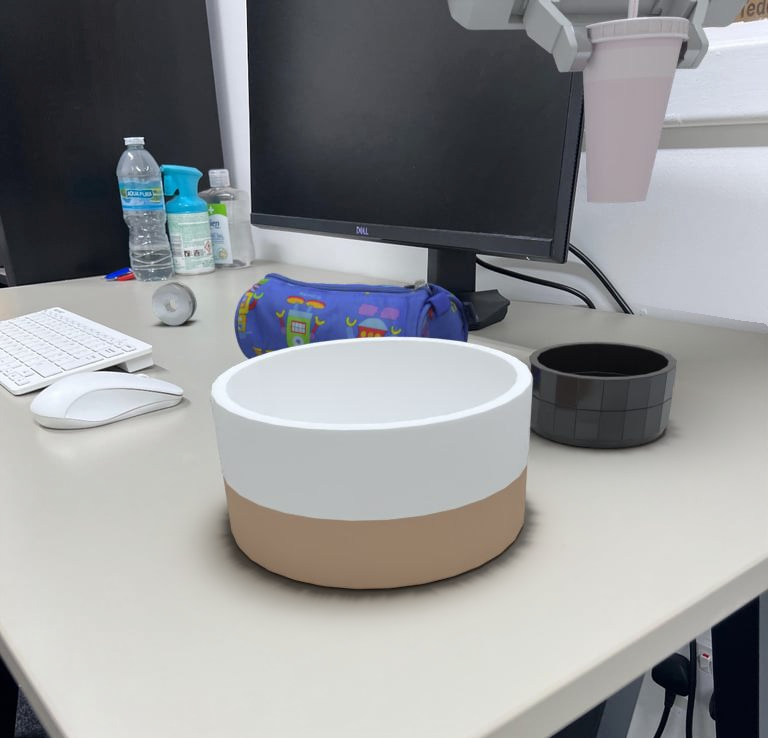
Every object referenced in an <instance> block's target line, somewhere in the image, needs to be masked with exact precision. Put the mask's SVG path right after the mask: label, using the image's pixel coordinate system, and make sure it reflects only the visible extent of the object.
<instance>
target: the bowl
mask: <svg viewBox="0 0 768 738" xmlns="http://www.w3.org/2000/svg"><path fill="white" fill-rule="evenodd" d="M532 384H533V377H532V374H531V372H530V370H529V369H528V365H527V364H525V362H522V361H521V360H520V359H519V358H517V357H515V356H513V355H511V354H508V353H507V352H504V351H503V350H498V349H495V348H491V347H488V346H485V345H481V344H476V343H470V342H467V343H466V342H461V341H453V340H444V339H434V338H418V337H371V338H354V339H342V340H333V341H325V342H317V343H311V344H305V345H300V346H294V347H289V348H285V349H281V350H277V351H273V352H269V353H266V354H263V355H260V356H257V357H254V358H251V359H246V360H245V361H241V362H239V363H238V364H235V365H233V366H231V367H229V368H228V369H227V370H225V371H224V372H223V373H221V374H220V375H219V376H217V378H216V379H215V380H214V381H213V383H212V384H211V388H210V395H209V396H210V397H209V398H210V404H211V405H210V406H211V411H212V418H213V425H214V431H215V437H216V443H217V444H216V445H217V450H218V457H219V462H220V463H219V464H220V469H221V470H220V471H221V474H222V477H223V484H224V490H225V491H224V492H225V497H226V505H227V510H228V517H229V522H230V523H229V524H230V530H231V533H232V536H233V538H234V540H235V542H236V545H237V546H238V548H239V549H240V550H241V551H242V552H243V553H244V554H245V555H246V556H247V557H248V558H249V559H250V560H251V561H252V562H254V563H256V564H258V565H259V566H261V567H263V568H265V569H266V570H267V571H269V572H272V573H275V574H277V575H280V576H283V577H285V578H288V579H291V580H294V581H298V582H301V583H303V582H304V583H307V584H312V585H317V586H323V587H331V588H342V589H352V590H353V589H355V590H363V589H364V590H365V589H366V590H367V589H392V588H393V589H394V588H400V587H401V588H402V587H409V586H416V585H424V584H428V583H432V582H435V581H439V580H444V579H447V578H452V577H455V576H458V575H461V574H463V573H465V572H468V571H471V570H474V569H476V568H478V567H481V566H483V565H484V564H485V563H487V562H489V561H490V560H492V559H494V558H496V557H498V556H500V555H501V554H502V553H503V552H504V551H505V550H506V549H507V548H508V547H509V546H510V545H511V544H512V543H513V542H515V541H516V538H517V537H518V535H519V533H520V532H521V529H522V527H523V526H524V523H525V514H526V513H525V512H526V496H527V478H528V465H529V453H530V437H531V436H530V435H531V426H530V420H531V402H532Z"/></svg>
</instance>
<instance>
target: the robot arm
mask: <svg viewBox="0 0 768 738" xmlns="http://www.w3.org/2000/svg"><path fill="white" fill-rule="evenodd" d="M446 1H447V5H448V6H447V7H448V10H449V13H450V16H451V18H452V19H453V20H454V21H455V22H456V23H458V24H459V25H460V26H461V27H463V28H464V29H466V30H469V31H495V30H497V31H498V30H500V31H501V30H502V31H503V30H525V32H526V35H527V37H529V38H530V39H531V40H532V41H534V42H535V43H536V44H538V46H540V47H541V48H542V49H544V50H545V51H546V52H547V53H549V54H552V57H553V59H554V62H555V65H556V68H557V70H558V72H559V73H574V72H577V73H578V72H583V70H584V69H585V67H586V61H587V60H588V59H589V58H590V56H591V53H592V41H591V39H589V38H588V35H589V33H588V31H587V28H586V26H588V25H592V24H596V23H601V22H607V21H613V20H621V19H628V8H629V0H446ZM748 1H749V0H639V4H638V14H637V18H639V17H642V18H643V17H680V18H685V19H688V20H689V28H688V37H689V39H688V40H687V41H685V42H682V45H681V49H680V53H679V58H678V62H677V67H676V70H696V69H697V68H698V67H700V65H701V63H702V62H703V60H704V58H705V56H706V55H707V53H708V51H709V46H710V44H709V39H708V36H707V34H706V32H705V30H704V28H727V27H729V26H730V25H732V24H733V23H734V22H735V20H736V19H737V17H738V16H739V14H740V13H741V11H742V10H743V8H744V7H745V6H746V5H747V3H748Z"/></svg>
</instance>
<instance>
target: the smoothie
mask: <svg viewBox="0 0 768 738" xmlns="http://www.w3.org/2000/svg"><path fill="white" fill-rule="evenodd" d="M638 4H639V0H629V8H628V19H621V20H613V21H607V22H601V23H596V24H592V25H588V26H586V28H587V31H588V33H589V35H588V38H589V39H591V41H592V53H591V56H590V58H589V59H588V60H587V61H586V67H585V69H584V70H583V71H582V84H583V110H584V113H583V114H584V138H585V139H584V140H585V142H584V143H585V144H584V145H585V171H586V198H587V199H586V201H587V202H588V203H596V204H597V203H598V204H622V203H623V204H624V203H635V202H636V203H638V202H645V201H647V196H648V193H649V187H650V183H651V180H652V179H651V178H652V174H653V170H654V165H655V163H656V162H655V161H656V158H657V154H658V149H659V145H660V140H661V136H662V131H663V127H664V123H665V120H666V119H665V118H666V114H667V110H668V105H669V102H670V101H669V100H670V96H671V92H672V88H673V84H674V79H675V76H676V71H677V69H676V67H677V62H678V58H679V53H680V49H681V45H682V42H685V41H687V40H688V39H689V37H688V28H689V20H688V19H685V18H680V17H643V18H642V17H639V18H637V14H638Z"/></svg>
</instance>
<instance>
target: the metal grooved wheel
mask: <svg viewBox="0 0 768 738" xmlns="http://www.w3.org/2000/svg"><path fill="white" fill-rule="evenodd" d="M171 300H172V301H173V302H174V303H175V304H176V305H175V306H176V308H174V307H172V305H171ZM151 307H152V310H153V313H154V314H155V316H156V317H157V318H158V320H159V321H161V323H164V324H166V325H169V326H173V327H174V326H180V325H183V324H184V323H186V322H188V321H189V320H191V319H192V318H193V317H194V316H195V314H196V312H197V308H198V302H197V298H196V295H195V293H194V292H193V290H192V289H191V288H190V287H189V286H188V285H187V284H184V283H183V282H179V281H172V282H169V283H166V284H164V285H161V286H159V287H158V288H156V290H155V291H154V292H153V294H152V296H151Z"/></svg>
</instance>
